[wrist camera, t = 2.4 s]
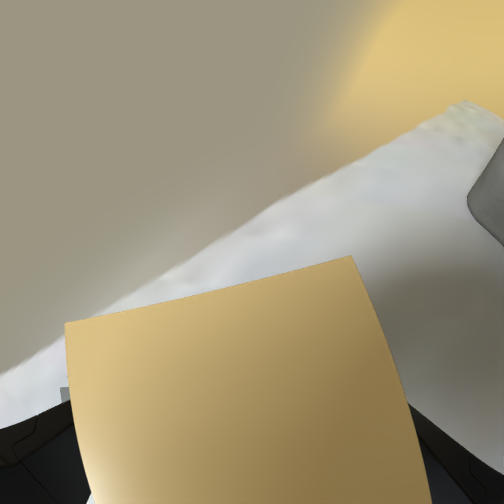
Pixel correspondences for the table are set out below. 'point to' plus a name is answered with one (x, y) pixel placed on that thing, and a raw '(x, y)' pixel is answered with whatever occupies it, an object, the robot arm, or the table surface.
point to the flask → (490, 196)
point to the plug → (246, 398)
